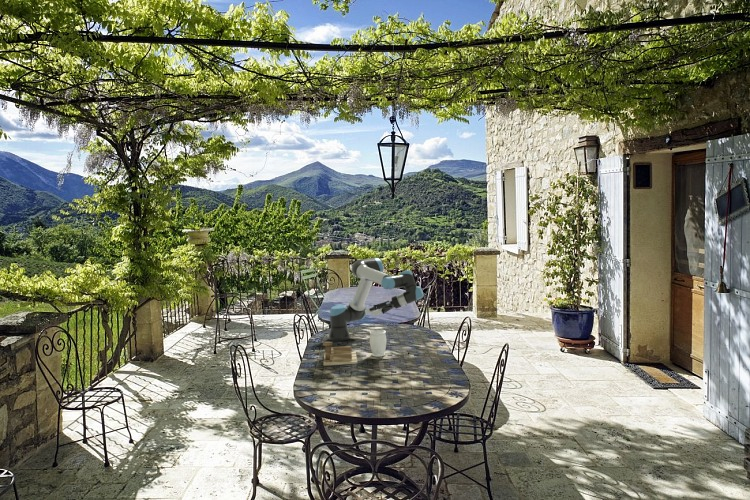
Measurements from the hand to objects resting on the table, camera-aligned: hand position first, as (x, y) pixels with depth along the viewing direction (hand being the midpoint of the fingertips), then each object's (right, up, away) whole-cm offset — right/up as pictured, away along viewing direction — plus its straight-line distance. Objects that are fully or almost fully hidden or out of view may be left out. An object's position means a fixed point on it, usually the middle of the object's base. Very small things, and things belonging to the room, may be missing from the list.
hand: (368, 313), depth 332 cm
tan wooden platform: (-17, -27, -7) cm, 33 cm away
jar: (+6, -26, -2) cm, 27 cm away
